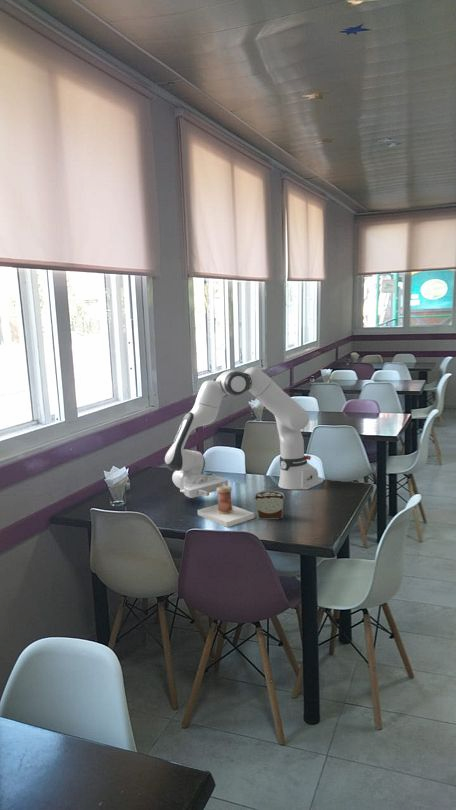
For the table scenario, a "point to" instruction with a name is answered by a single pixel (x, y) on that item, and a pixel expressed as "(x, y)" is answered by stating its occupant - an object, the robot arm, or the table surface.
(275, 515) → the food container
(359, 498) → the table surface
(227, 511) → the cord spool
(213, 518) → the shelf board
